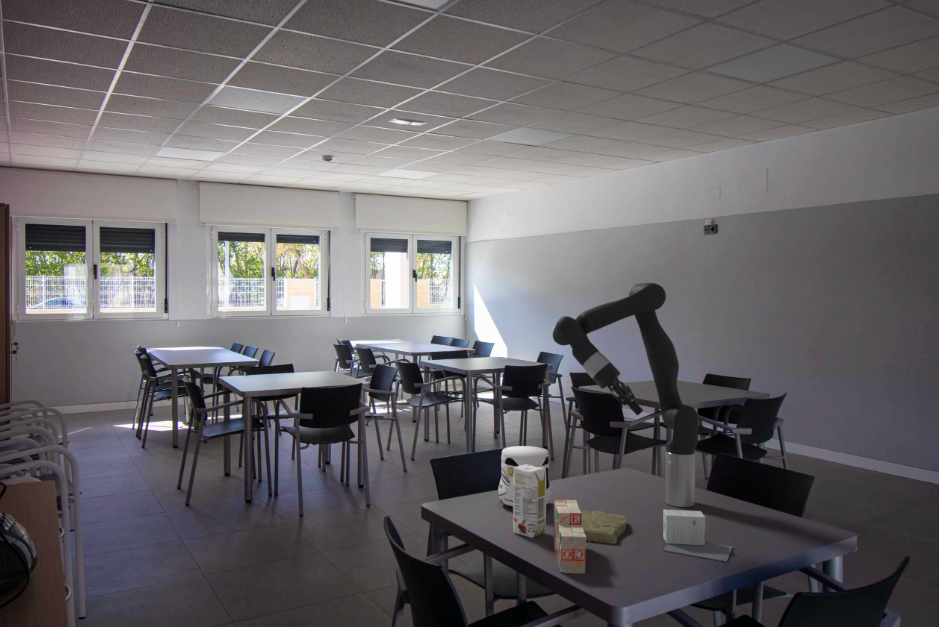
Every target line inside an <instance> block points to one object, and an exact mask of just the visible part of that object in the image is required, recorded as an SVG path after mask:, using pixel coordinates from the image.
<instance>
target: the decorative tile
mask: <svg viewBox="0 0 939 627" xmlns="http://www.w3.org/2000/svg"><path fill="white" fill-rule="evenodd" d="M580 511H581V513H582V527H583V530H584V532H585V535H586V540H588V541H587V542H591V541H595V542H594V543H601V542H603V544H609V543H610V545H616V544H617V543H618V540H617V539H618V538H620V536H621V535H623V534H624V533H625V532H626V527H627V525H626V524H627V517H626V515H625V514H616V513H607V512H604V511H600V510H594V511H589V510H585V509H580ZM622 533H623V534H622ZM617 537H618V538H617ZM616 538H617V539H616Z"/></svg>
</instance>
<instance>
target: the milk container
mask: <svg viewBox="0 0 939 627" xmlns="http://www.w3.org/2000/svg"><path fill="white" fill-rule="evenodd" d="M500 459H501V463H500V464H501V465H500V466H501V468H500V469H501V473H500V474H501V475H500V476H501V477H500V481H499V483H498V484H499V485H498V488H497V489H498V498H499V501H500V502H501V504H503V505H504V506H506V507H508V508H511V509H513V477H514V468H515V467H518V466H521V465H525V464H528V465H532V466H534V467H542V468H546V506H547V505H549V504H550V502H551V499H552V487H551V483H550V478H549V477H550V472H549V470H550V464H549V462H550V456H549V450H547V449H546V448H543V447H537V446H531V445H530V446H529V445H528V446H527V445H517V446H516V445H514V446H508V447H504V448H503V449H502V451H501V457H500Z"/></svg>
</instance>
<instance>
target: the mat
mask: <svg viewBox="0 0 939 627" xmlns="http://www.w3.org/2000/svg"><path fill="white" fill-rule="evenodd" d="M732 548H733V549H734V546H731V545H724V544H719V543H713V542H708V541H705V545H686V544H667V543H666V546H665V547H664V549H663V550H662V551H663V552H667V553H673V554H677V553H678V554H679V555H684V556H688V555H689V556H690V557H695V558H699V557H701V558H700V559H705V558H707V560H711V559H712V561H716V560H718V561H717V562H722V561H724V562H723V563H727V562H728V560H729V558H730V556H729V555H731V553H732V550H733V549H732ZM678 554H677V555H678Z"/></svg>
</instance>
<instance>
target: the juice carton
mask: <svg viewBox="0 0 939 627" xmlns="http://www.w3.org/2000/svg"><path fill="white" fill-rule="evenodd" d="M546 522H547V505H546V468H542V467H534V466H532V465H528V464H525V465H521V466H518V467H515V468H514V477H513V508H512V526H513V533H514V534H516V533H517V535H520V534H521V536H523V535H524V537H526V536H527V538H529V537H530V539H534V538H536V536H537V537H539V536H541V535H543V534H545V532H546V526H547V524H546Z"/></svg>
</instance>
